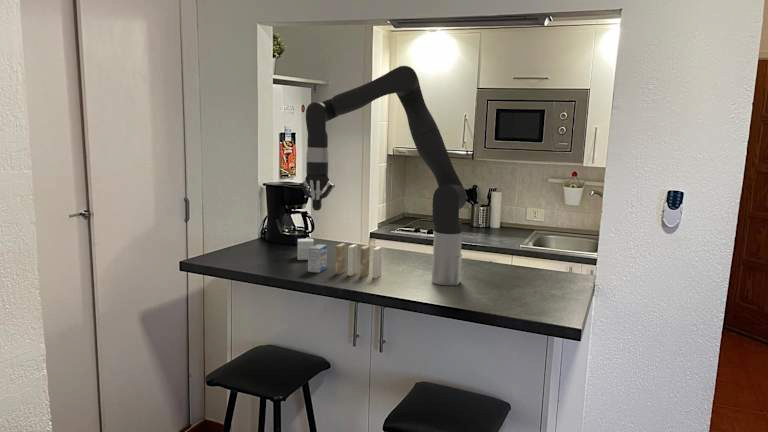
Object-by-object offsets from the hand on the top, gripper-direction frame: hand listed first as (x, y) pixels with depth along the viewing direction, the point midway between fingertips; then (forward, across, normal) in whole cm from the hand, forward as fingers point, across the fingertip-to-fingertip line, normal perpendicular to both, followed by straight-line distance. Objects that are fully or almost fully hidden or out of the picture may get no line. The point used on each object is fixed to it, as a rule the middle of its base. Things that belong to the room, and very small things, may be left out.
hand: (316, 210), depth 206 cm
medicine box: (+22, 0, 0) cm, 22 cm away
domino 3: (+22, -18, 0) cm, 28 cm away
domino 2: (+22, -14, 0) cm, 26 cm away
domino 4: (+22, -23, 0) cm, 31 cm away
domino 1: (+22, -9, 0) cm, 23 cm away
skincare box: (+22, +12, -16) cm, 29 cm away
